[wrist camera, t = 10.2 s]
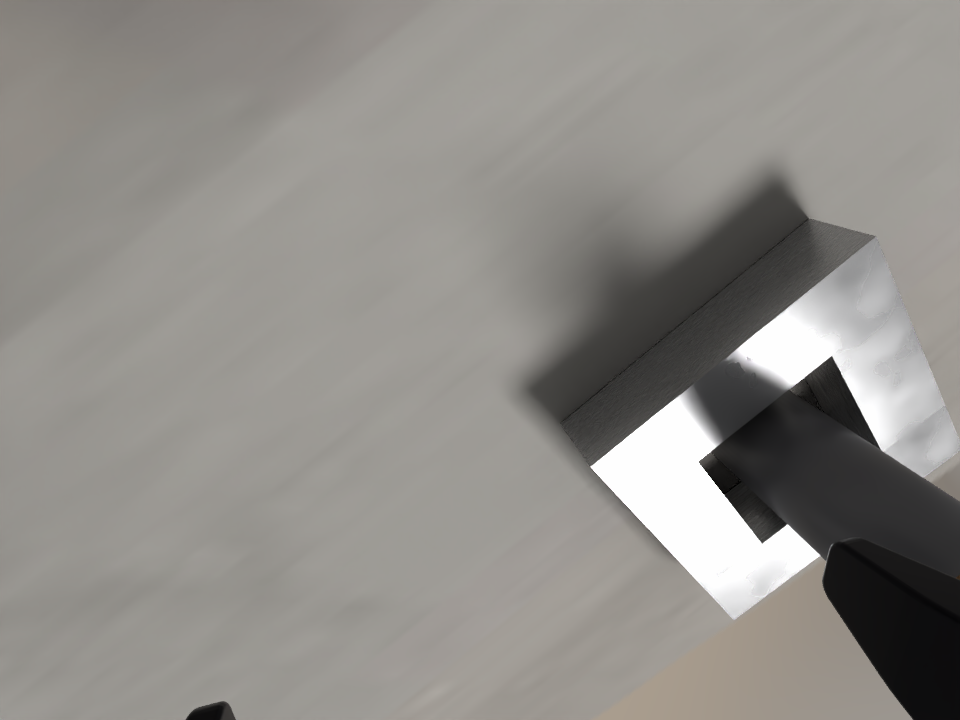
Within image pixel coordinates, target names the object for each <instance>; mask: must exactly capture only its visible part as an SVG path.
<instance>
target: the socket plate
mask: <svg viewBox="0 0 960 720" xmlns="http://www.w3.org/2000/svg"><path fill="white" fill-rule="evenodd" d="M804 377H805V379H806V381H807V382H808V384H809V386H810V388H811V390H812V391H813V393H814V395H815V397H816V398H817V400H818V402H819V404H820V405H821V407H822V409H823V411H824V412H825V414H826V415H828V416H829V417H831V418H832V419H834V420H835V421H837V422H838V423H840V424H842V425H843V426H845V427H846V428H848V429H849V430H851V431H852V432H854V433H855V434H857V435H858V436H860V437H861V438H863V439H865V440H866V441H868V442H869V443H871V444H872V445H874V446H875V447H877V448H878V449H880V450H881V451H883V452H884V453H886V454H887V455H889V456H891V457H892V458H894V459H895V460H897V461H898V462H900V463H901V464H903V465H904V466H906V467H907V468H909V469H910V470H912V471H913V472H915V473H917V474H918V475H920V476H921V477H923V478H924V477H925V476H927V475H928V474H929V473H931V472H932V471H933V470H935V469H936V468H937V467H939V466H940V465H941V464H943V463H944V462H945V461H947V460H948V459H949V458H951V457H952V456H953V455H955V454H956V453H957V452H959V451H960V440H959V438H958V435H957V433H956V430H955V428H954V425H953V423H952V420H951V418H950V416H949V413H948V411H947V408H946V406H945V403H944V401H943V398H942V396H941V394H940V391H939V389H938V386H937V384H936V381H935V379H934V376H933V374H932V372H931V369H930V367H929V364H928V362H927V359H926V357H925V355H924V352H923V350H922V347H921V345H920V342H919V340H918V337H917V335H916V333H915V330H914V328H913V325H912V323H911V320H910V318H909V315H908V313H907V311H906V308H905V306H904V303H903V301H902V298H901V296H900V293H899V291H898V289H897V286H896V284H895V281H894V279H893V276H892V274H891V271H890V269H889V267H888V264H887V262H886V259H885V257H884V254H883V252H882V249H881V247H880V245H879V242H878V240H877V237H876V236H873V235H869V234H865V233H861V232H858V231H854V230H850V229H847V228H843V227H839V226H835V225H832V224H828V223H824V222H821V221H817V220H813V219H808V220H807V221H806V222H805V223H803V224H802V225H801V226H800V227H798V228H797V229H796V230H795V231H794V232H792V233H791V234H790V235H789V236H788V237H786V238H785V239H784V240H783V241H781V242H780V243H779V244H778V245H777V246H775V247H774V248H773V249H772V250H771V251H769V252H768V253H767V254H766V255H764V256H763V257H762V258H761V259H760V260H758V261H757V262H756V263H755V264H754V265H752V266H751V267H750V268H749V269H747V270H746V271H745V272H744V273H743V274H741V275H740V276H739V277H738V278H737V279H735V280H734V281H733V282H732V283H730V284H729V285H728V286H727V287H726V288H724V289H723V290H722V291H721V292H720V293H718V294H717V295H716V296H715V297H713V298H712V299H711V300H710V301H709V302H707V303H706V304H705V305H704V306H703V307H701V308H700V309H699V310H698V311H696V312H695V313H694V314H693V315H692V316H690V317H689V318H688V319H687V320H686V321H684V322H683V323H682V324H681V325H679V326H678V327H677V328H676V329H675V330H673V331H672V332H671V333H670V334H669V335H667V336H666V337H665V338H664V339H662V340H661V341H660V342H659V343H658V344H656V345H655V346H654V347H653V348H652V349H650V350H649V351H648V352H647V353H645V354H644V355H643V356H642V357H641V358H639V359H638V360H637V361H636V362H635V363H633V364H632V365H631V366H630V367H628V368H627V369H626V370H625V371H624V372H622V373H621V374H620V375H619V376H618V377H616V378H615V379H614V380H613V381H611V382H610V383H609V384H608V385H607V386H605V387H604V388H603V389H602V390H601V391H599V392H598V393H597V394H596V395H594V396H593V397H592V398H591V399H590V400H588V401H587V402H586V403H585V404H584V405H582V406H581V407H580V408H579V409H577V410H576V411H575V412H574V413H573V414H571V415H570V416H569V417H568V418H567V419H565V420H564V421H563V422H562V423H560V424H561V425H562V426H563V428H564V429H565V431H566V432H567V434H568V435H569V437H570V438H571V439H572V441H573V442H574V444H575V445H576V447H577V448H578V450H579V451H580V452H581V454H582V455H583V457H584V458H585V460H586V461H587V463H588V464H589V465H590V467H591V468H592V469H593V470H594V471H595V472H596V473H597V474H598V475H599V477H600V478H601V479H602V480H603V481H604V482H605V483H606V484H607V485H608V486H609V487H610V488H611V489H612V490H613V491H614V493H615V494H616V495H617V496H618V497H619V498H620V499H621V500H622V501H623V502H624V503H625V504H626V505H627V506H628V507H629V509H630V510H631V511H632V512H633V513H634V514H635V515H636V516H637V517H638V518H639V519H640V520H641V521H642V522H643V523H644V525H645V526H646V527H647V528H648V529H649V530H650V531H651V532H652V533H653V534H654V535H655V536H656V537H657V538H658V539H659V541H660V542H661V543H662V544H663V545H664V546H665V547H666V548H667V549H668V550H669V551H670V552H671V553H672V554H673V555H674V557H675V558H676V559H677V560H678V561H679V562H680V563H681V564H682V565H683V566H684V567H685V568H686V569H687V570H688V571H689V573H690V574H691V575H692V576H693V577H694V578H695V579H696V580H697V581H698V582H699V583H700V584H701V585H702V586H703V587H704V589H705V590H706V591H707V592H708V593H709V594H710V595H711V596H712V597H713V598H714V599H715V600H716V601H717V602H718V603H719V605H720V606H721V607H722V608H723V609H724V610H725V611H726V612H727V613H728V614H729V615H730V616H731V617H732V618H733V619H736V618H737V617H738V616H740V615H741V614H742V613H744V612H745V611H746V610H748V609H749V608H750V607H752V606H753V605H754V604H756V603H757V602H758V601H760V600H761V599H762V598H764V597H765V596H766V595H768V594H769V593H770V592H772V591H773V590H774V589H776V588H777V587H778V586H780V585H781V584H782V583H784V582H785V581H786V580H788V579H789V578H790V577H792V576H793V575H795V574H796V573H797V572H799V571H800V570H801V569H803V568H804V567H805V566H807V565H808V564H809V563H811V562H812V561H813V560H815V559H816V558H817V557H819V556H820V555H819V554H818V553H817V552H816V551H815V550H814V549H813V548H812V547H811V546H810V545H809V544H808V543H807V542H805V541H804V540H803V539H802V538H801V537H800V536H799V535H798V534H797V533H796V532H795V531H794V530H793V529H792V528H791V527H790V526H789V525H788V524H786V523H785V522H784V521H783V520H782V519H781V518H780V517H779V516H778V515H777V514H776V513H775V512H774V511H773V510H772V509H771V508H770V507H769V506H767V505H766V504H765V503H764V502H763V501H762V500H761V499H760V498H759V497H758V496H757V495H756V494H755V493H754V492H753V491H752V490H751V489H750V488H748V487H747V486H746V485H745V484H744V483H743V482H740V483H739V484H738V485H737V486H735V487H734V488H733V489H731V490H730V491H729V492H728V493H726V494H725V495H723V494H722V492H721V491H720V490H719V488H718V487H717V486H716V485H715V483H714V482H713V481H712V479H711V478H710V477H709V476H708V474H707V473H706V472H705V471H704V469H703V468H702V467H701V465H700V464H699V463H698V461H699V460H700V459H702V458H703V457H704V456H705V455H707V454H708V453H709V452H711V451H712V450H713V449H714V448H716V447H717V446H718V445H719V444H721V443H722V442H723V441H724V440H726V439H727V438H728V437H730V436H731V435H732V434H733V433H735V432H736V431H737V430H738V429H740V428H741V427H742V426H743V425H745V424H746V423H747V422H749V421H750V420H751V419H752V418H754V417H755V416H756V415H757V414H759V413H760V412H761V411H762V410H764V409H765V408H766V407H767V406H769V405H770V404H771V403H773V402H774V401H775V400H776V399H778V398H779V397H780V396H781V395H783V394H784V393H785V392H786V391H788V390H789V389H790V388H792V387H793V386H794V385H795V384H797V383H798V382H799V381H800V380H802V379H803V378H804Z"/></svg>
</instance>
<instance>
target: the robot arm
mask: <svg viewBox="0 0 960 720" xmlns="http://www.w3.org/2000/svg"><path fill="white" fill-rule="evenodd" d="M822 583H823V588H824V591H825V593H826V595H827V597H828V599H829V600H830V602H831V603H832V605H833V606H834V608H835V609H836V611H837V612H838V614H839V615H840V617H841V618H842V619H843V621H844V623H845V624H846V626H847V627H848V629H849V630H850V632H851V633H852V635H853V636H854V637H855V639H856V641H857V642H858V644H859V645H860V646H861V648H862V650H863V651H864V653H865V654H866V656H867V657H868V658H869V660H870V661H871V663H872V664H873V666H874V667H875V669H876V670H877V671H878V673H879V675H880V676H881V678H882V679H883V680H884V682H885V683H886V685H887V686H888V688H889V689H890V691H891V692H892V693H893V694H894V696H895V697H896V698H897V700H898V701H899V702H900V704H901V705H902V706H903V708H904V709H905V710H906V711H907V712H908V714H909V715H910V716H911V717H912V719H913V720H960V580H959V579H957V578H955V577H952V576H950V575H948V574H945V573H943V572H941V571H938V570H936V569H934V568H931V567H929V566H927V565H924V564H922V563H920V562H917V561H915V560H913V559H910V558H908V557H906V556H903V555H901V554H899V553H896V552H894V551H892V550H889V549H887V548H885V547H882V546H880V545H878V544H875V543H873V542H871V541H868V540H866V539H863V538H860V537H852V538H848V539H844V540H840V541H837V542H834V543H833V544H832V545H831V546H830V549H829V553H828V557H827V561H826V566H825V570H824V574H823V579H822ZM186 720H236V719H235V717H234V714H233V712H232V709H231V707H230V706H229V704H228V703H227V702H224V701H222V702H217V703H213V704H210V705H206V706H202V707H199V708H196V709H195V710H193V711H192V712H191V713H190V714H189V715H188V717H187V718H186Z"/></svg>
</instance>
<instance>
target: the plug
mask: <svg viewBox="0 0 960 720" xmlns="http://www.w3.org/2000/svg"><path fill="white" fill-rule="evenodd" d="M711 452H712V453H713V454H714V455H715V456H716V457H717V458H718V459H719V460H720V461H721V462H722V463H723V464H724V465H725V466H726V467H727V468H728V469H730V470H731V471H732V472H733V473H734V474H735V475H736V476H737V477H738V478H739V479H740V480H741V481H742V482H743V483H744V484H745V485H746V486H747V487H748V488H750V489H751V490H752V491H753V492H754V493H755V494H756V495H757V496H758V497H759V498H760V499H761V500H762V501H763V502H764V503H765V504H766V505H767V506H769V507H770V508H771V509H772V510H773V511H774V512H775V513H776V514H777V515H778V516H779V517H780V518H781V519H782V520H783V521H784V522H785V523H786V524H788V525H789V526H790V527H791V528H792V529H793V530H794V531H795V532H796V533H797V534H798V535H799V536H800V537H801V538H802V539H803V540H804V541H805V542H807V543H808V544H809V545H810V546H811V547H812V548H813V549H814V550H815V551H816V552H817V553H818V554H819V555H820V556H821V557H822V558H823V559H824V560H826V561H827V557H828V553H829V549H830V546H831V545H832V544H833V543H834V542H837V541H840V540H844V539H848V538H852V537H860V538H863V539H866V540H868V541H871V542H873V543H875V544H878V545H880V546H882V547H885V548H887V549H889V550H892V551H894V552H896V553H899V554H901V555H903V556H906V557H908V558H910V559H913V560H915V561H917V562H920V563H922V564H924V565H927V566H929V567H931V568H934V569H936V570H938V571H941V572H943V573H945V574H948V575H950V576H952V577H955V578H957V579H959V580H960V502H959V501H958V500H956V499H955V498H953V497H952V496H950V495H949V494H947V493H946V492H944V491H943V490H941V489H940V488H938V487H936V486H935V485H933V484H932V483H930V482H929V481H927V480H926V479H924V478H923V477H921V476H920V475H918V474H917V473H915V472H913V471H912V470H910V469H909V468H907V467H906V466H904V465H903V464H901V463H900V462H898V461H897V460H895V459H894V458H892V457H891V456H889V455H887V454H886V453H884V452H883V451H881V450H880V449H878V448H877V447H875V446H874V445H872V444H871V443H869V442H868V441H866V440H865V439H863V438H861V437H860V436H858V435H857V434H855V433H854V432H852V431H851V430H849V429H848V428H846V427H845V426H843V425H842V424H840V423H838V422H837V421H835V420H834V419H832V418H831V417H829V416H828V415H826V414H825V413H823V412H822V411H820V410H819V409H817V408H816V407H814V406H812V405H811V404H809V403H808V402H806V401H805V400H803V399H802V398H800V397H799V396H797V395H796V394H794V393H793V392H791V391H789V390H788V391H786V392H785V393H784V394H783V395H781V396H780V397H779V398H778V399H776V400H775V401H774V402H773V403H771V404H770V405H769V406H767V407H766V408H765V409H764V410H762V411H761V412H760V413H759V414H757V415H756V416H755V417H754V418H752V419H751V420H750V421H749V422H747V423H746V424H745V425H743V426H742V427H741V428H740V429H738V430H737V431H736V432H735V433H733V434H732V435H731V436H730V437H728V438H727V439H726V440H724V441H723V442H722V443H721V444H719V445H718V446H717V447H716V448H714V449H713V450H712V451H711Z"/></svg>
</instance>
